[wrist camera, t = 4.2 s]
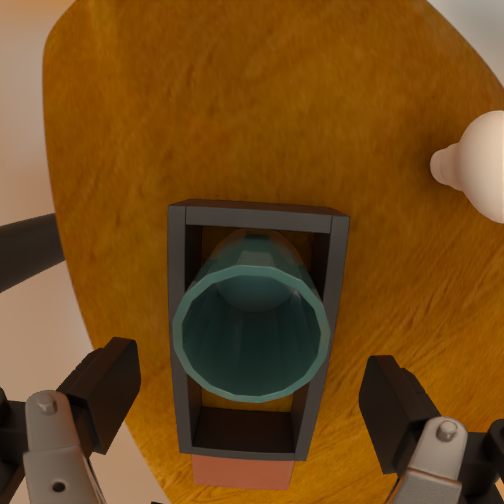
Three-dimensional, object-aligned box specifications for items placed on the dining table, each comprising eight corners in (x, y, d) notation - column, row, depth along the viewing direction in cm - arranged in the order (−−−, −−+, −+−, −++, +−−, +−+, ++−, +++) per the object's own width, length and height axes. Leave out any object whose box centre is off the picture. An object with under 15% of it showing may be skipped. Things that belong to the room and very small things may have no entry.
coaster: (194, 481, 28) (194, 483, 28) (189, 420, 26) (188, 423, 25) (287, 487, 28) (287, 489, 27) (301, 427, 26) (301, 430, 25)
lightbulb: (411, 114, 20) (509, 80, 9) (474, 143, 20) (576, 137, 9) (395, 194, 21) (493, 212, 10) (459, 217, 21) (561, 247, 10)
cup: (208, 311, 23) (176, 395, 14) (210, 223, 22) (171, 259, 12) (296, 317, 23) (316, 404, 13) (305, 229, 22) (340, 270, 12)
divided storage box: (190, 413, 26) (179, 452, 21) (188, 198, 21) (167, 205, 17) (300, 420, 25) (305, 461, 21) (331, 207, 21) (350, 216, 16)
